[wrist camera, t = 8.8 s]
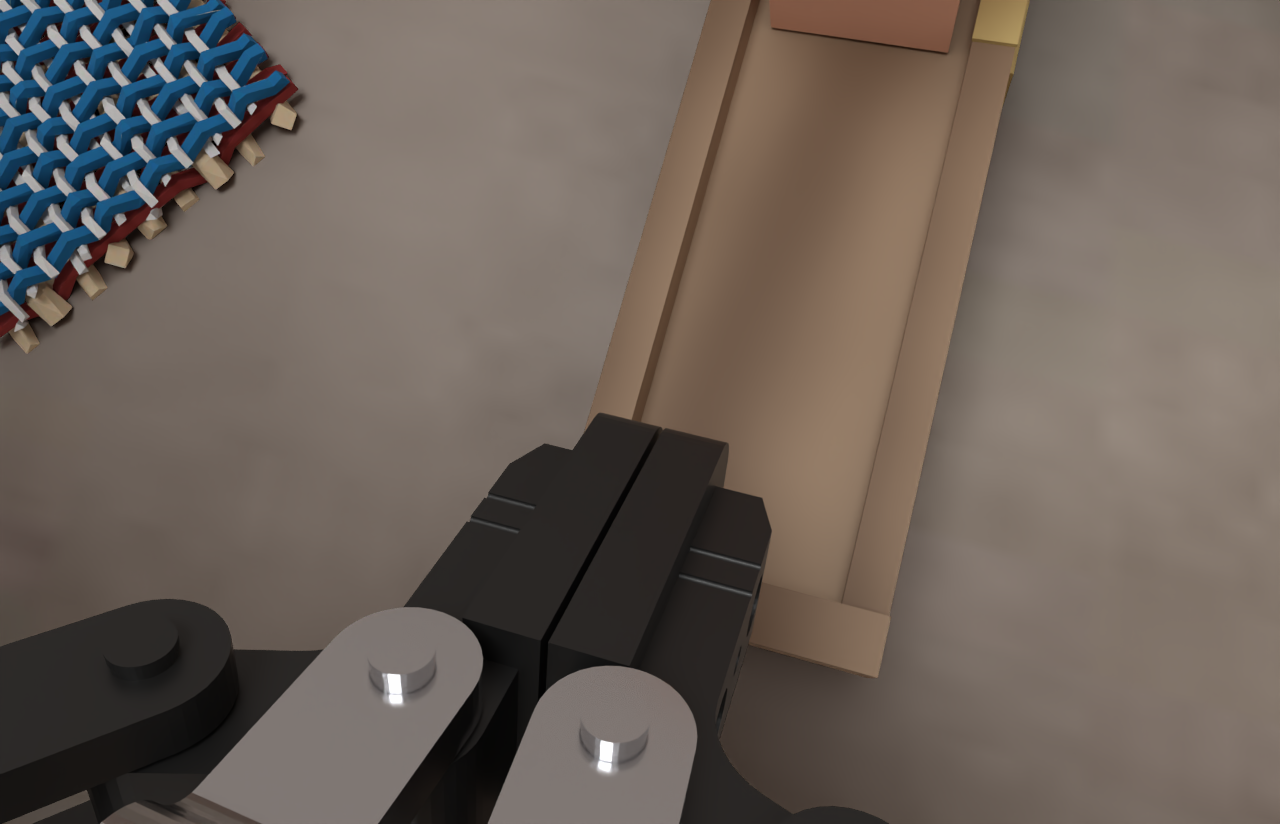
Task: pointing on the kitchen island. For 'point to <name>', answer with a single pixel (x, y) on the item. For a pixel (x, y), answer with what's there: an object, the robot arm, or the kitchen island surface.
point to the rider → (872, 20)
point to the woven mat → (114, 134)
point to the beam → (814, 292)
